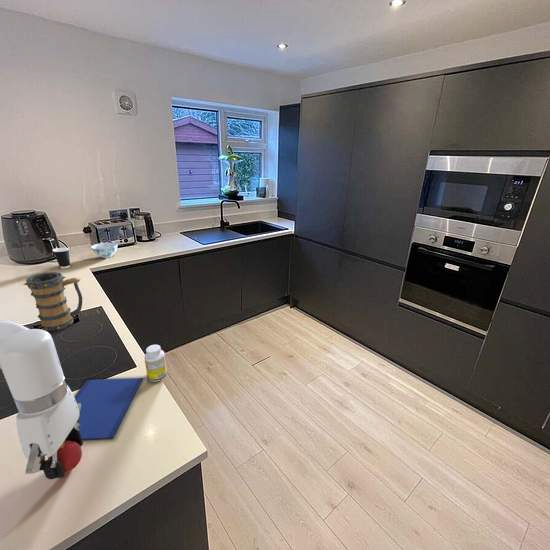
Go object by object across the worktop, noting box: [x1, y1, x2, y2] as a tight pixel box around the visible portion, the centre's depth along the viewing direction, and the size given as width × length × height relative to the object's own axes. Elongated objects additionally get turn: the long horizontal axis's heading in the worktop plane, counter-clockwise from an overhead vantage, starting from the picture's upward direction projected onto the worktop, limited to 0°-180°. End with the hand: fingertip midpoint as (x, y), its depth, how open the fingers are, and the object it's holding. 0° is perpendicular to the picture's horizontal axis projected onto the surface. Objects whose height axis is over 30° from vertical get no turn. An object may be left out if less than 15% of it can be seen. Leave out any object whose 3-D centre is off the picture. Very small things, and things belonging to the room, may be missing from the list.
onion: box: [46, 441, 83, 474], centre depth 60 cm, size 6×6×8 cm
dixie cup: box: [52, 247, 71, 269], centre depth 170 cm, size 8×8×11 cm
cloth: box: [64, 377, 144, 441], centre depth 77 cm, size 16×20×1 cm
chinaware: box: [91, 242, 118, 259], centre depth 190 cm, size 15×15×8 cm
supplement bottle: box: [143, 344, 168, 382], centre depth 86 cm, size 6×6×10 cm
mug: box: [22, 271, 83, 332], centre depth 111 cm, size 13×17×20 cm
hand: (65, 459), depth 60 cm, fingers closed on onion, 5 cm apart
